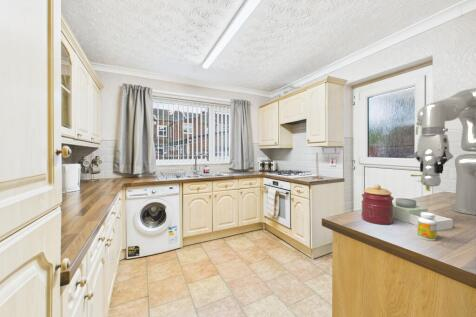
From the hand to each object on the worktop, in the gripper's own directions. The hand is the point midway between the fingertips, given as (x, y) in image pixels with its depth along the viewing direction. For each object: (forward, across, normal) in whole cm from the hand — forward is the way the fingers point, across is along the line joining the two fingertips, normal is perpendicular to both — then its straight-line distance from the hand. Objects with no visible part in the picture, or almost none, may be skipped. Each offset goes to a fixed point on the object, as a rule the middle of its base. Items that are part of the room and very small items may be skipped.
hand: (430, 172), depth 94 cm
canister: (+25, +12, +17) cm, 32 cm away
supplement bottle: (+25, -10, +16) cm, 31 cm away
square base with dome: (+24, +6, 0) cm, 25 cm away
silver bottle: (+7, 0, 0) cm, 7 cm away
